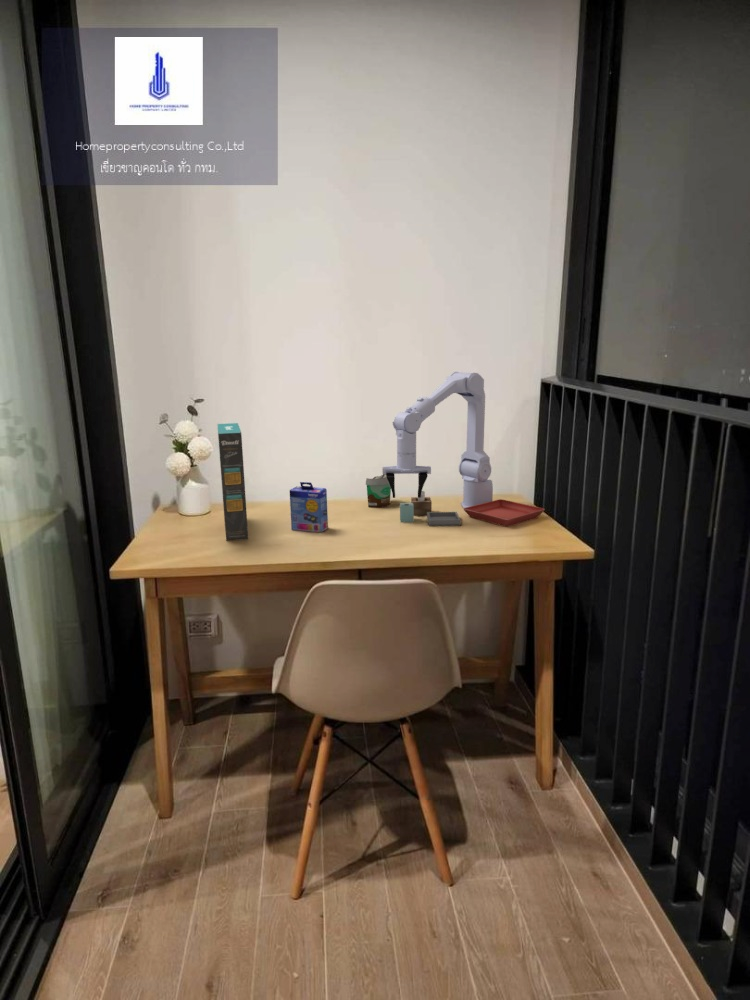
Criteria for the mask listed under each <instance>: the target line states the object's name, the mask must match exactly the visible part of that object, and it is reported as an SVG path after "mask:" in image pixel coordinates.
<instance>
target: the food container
mask: <svg viewBox="0 0 750 1000" xmlns="http://www.w3.org/2000/svg"><path fill="white" fill-rule="evenodd" d="M365 485H366V494H367V505H368V506H367V507H368V508H376V509H378V508H379V509H380V508H385V507H388V506H391V495H392V490H391V487H390V484H389V482H388V480H387V477H386V474H383V473H382V474H381V475H377V476H374V477H373V478H369V477H367V478H366V480H365Z"/></svg>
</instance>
